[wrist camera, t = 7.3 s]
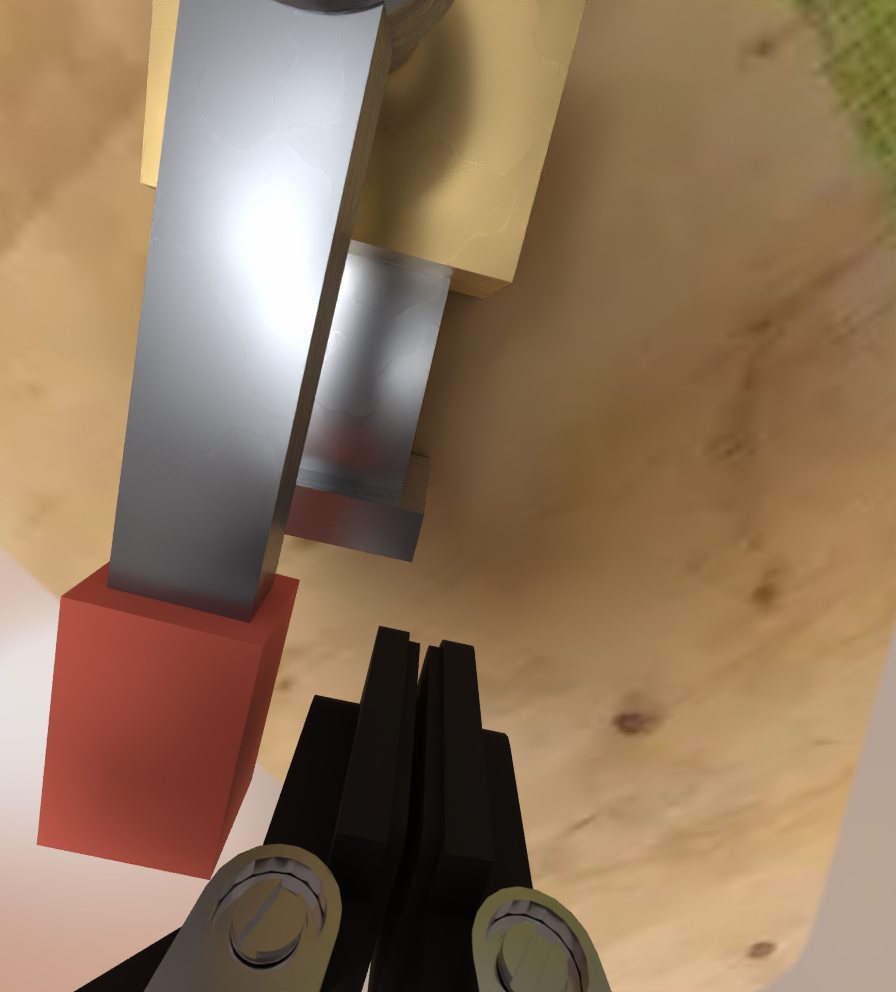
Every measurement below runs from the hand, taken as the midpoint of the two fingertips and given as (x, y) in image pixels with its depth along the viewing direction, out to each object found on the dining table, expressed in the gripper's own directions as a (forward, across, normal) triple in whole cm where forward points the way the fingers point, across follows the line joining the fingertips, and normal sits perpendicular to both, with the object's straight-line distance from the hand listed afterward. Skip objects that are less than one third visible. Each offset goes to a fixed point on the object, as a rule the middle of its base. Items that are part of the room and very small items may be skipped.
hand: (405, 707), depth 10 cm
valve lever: (0, +3, -5) cm, 6 cm away
